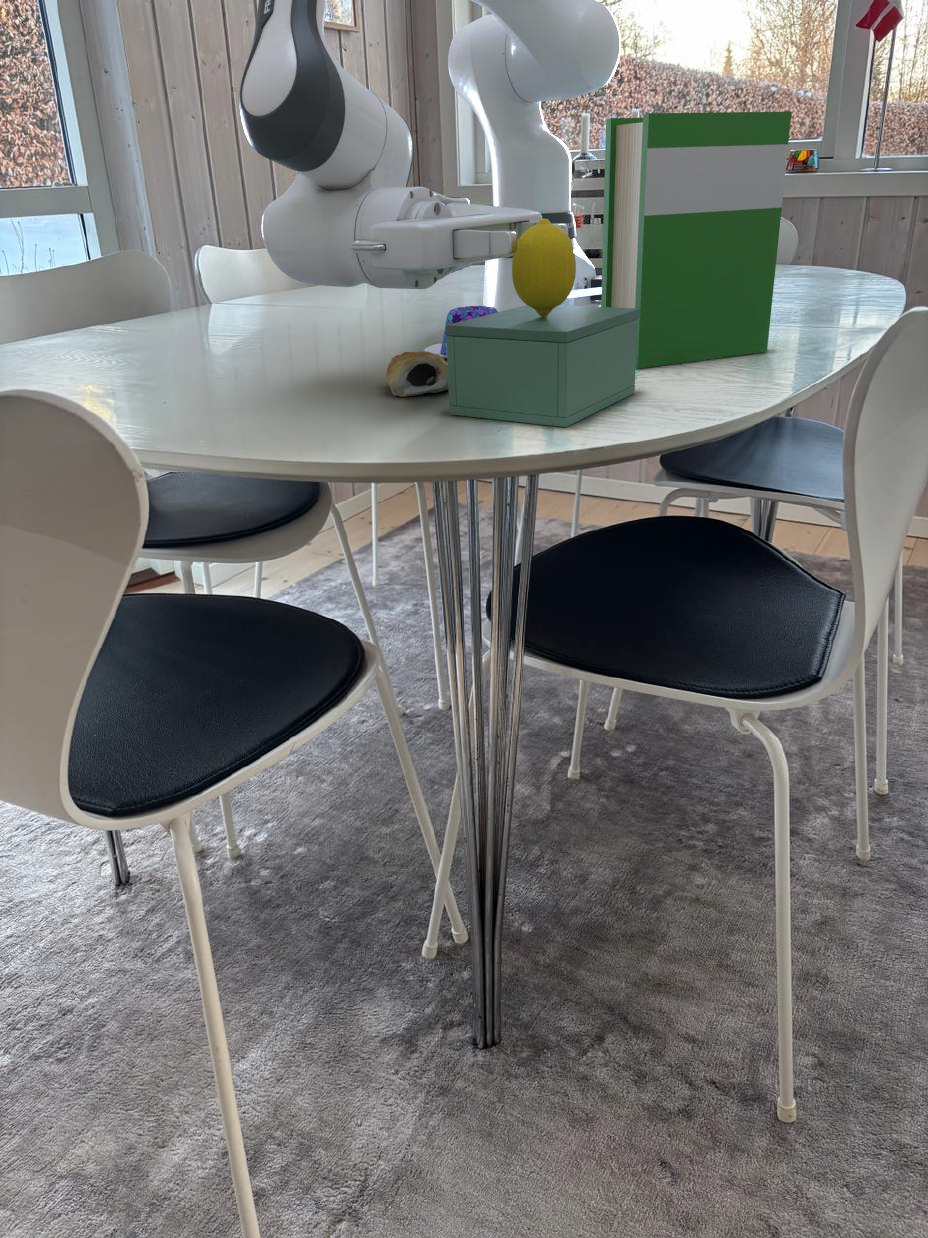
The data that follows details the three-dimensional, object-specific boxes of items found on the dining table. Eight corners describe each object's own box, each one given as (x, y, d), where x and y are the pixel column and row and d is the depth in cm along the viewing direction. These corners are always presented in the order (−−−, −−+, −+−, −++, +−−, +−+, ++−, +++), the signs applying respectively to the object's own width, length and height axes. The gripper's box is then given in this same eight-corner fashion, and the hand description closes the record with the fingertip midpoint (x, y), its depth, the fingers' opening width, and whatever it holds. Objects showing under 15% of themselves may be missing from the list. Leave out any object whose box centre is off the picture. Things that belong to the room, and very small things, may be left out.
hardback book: (637, 368, 98) (648, 112, 88) (599, 358, 104) (606, 118, 94) (767, 351, 105) (791, 111, 94) (724, 343, 111) (743, 116, 101)
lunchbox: (527, 383, 93) (527, 313, 90) (635, 393, 88) (638, 318, 85) (449, 414, 82) (446, 335, 79) (565, 427, 77) (567, 343, 74)
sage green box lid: (529, 313, 91) (529, 303, 90) (640, 317, 85) (640, 308, 85) (446, 335, 79) (445, 325, 79) (567, 342, 74) (567, 331, 73)
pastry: (381, 380, 97) (379, 343, 96) (444, 376, 98) (442, 339, 97) (391, 398, 89) (389, 358, 87) (460, 394, 90) (459, 354, 88)
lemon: (572, 320, 79) (573, 218, 75) (507, 321, 80) (506, 220, 76) (577, 312, 83) (579, 216, 80) (517, 312, 85) (516, 218, 81)
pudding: (415, 364, 106) (412, 316, 103) (434, 346, 116) (432, 302, 114) (519, 363, 104) (518, 314, 101) (529, 345, 114) (529, 301, 112)
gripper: (334, 207, 77) (475, 203, 70) (464, 197, 92) (590, 193, 86) (342, 286, 80) (478, 291, 73) (467, 264, 95) (589, 266, 88)
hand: (540, 238), depth 79 cm, fingers open, 8 cm apart
